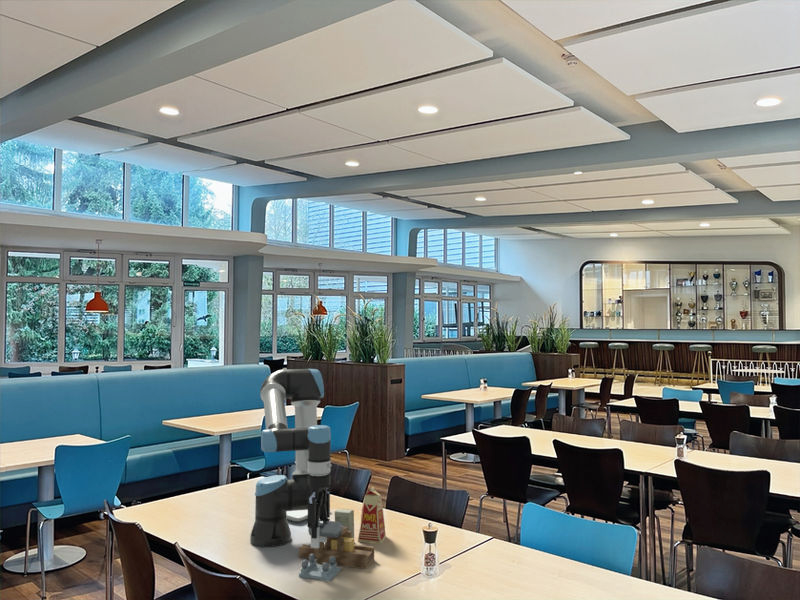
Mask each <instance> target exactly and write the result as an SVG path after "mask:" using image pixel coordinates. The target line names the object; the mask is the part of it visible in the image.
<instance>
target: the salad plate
mask: <svg viewBox="0 0 800 600" xmlns="http://www.w3.org/2000/svg"><path fill="white" fill-rule="evenodd" d="M286 517H287V519H288V520H287V521H291V520H292V522H296V521H297V522H302V520H303V521H306V520H308V510H297V511H287V515H286ZM297 522H296V523H297Z"/></svg>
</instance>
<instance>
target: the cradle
mask: <svg viewBox="0 0 800 600" xmlns="http://www.w3.org/2000/svg"><path fill="white" fill-rule="evenodd" d="M315 558H316V556H315V554H310V556H309V558H308V559H302V561H301V568H300V572H299V573H298V577H299V578H305V579H313V580H319V581H320V580H321V581H326V582H327V581H328V582H331V581H332V580H333V579H334V577H336V576H337V575H338V574H339V573H340V572H341V570H342V567H341V566H338V565H337V562H336V557H335V556H330V558H329V563H330V564H329V563H326V562H324V563H322V564H318V563H317V559H315Z"/></svg>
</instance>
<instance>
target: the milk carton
mask: <svg viewBox="0 0 800 600" xmlns="http://www.w3.org/2000/svg"><path fill="white" fill-rule="evenodd" d="M360 517H361V518H360V528H359V532H358V537H357V542H361V543H368V544H380V545H381V544H382V543H383V541H384V540H385V538H386V527H385V526H386V525H385V516H384V507H383V501H382V495H381V494H380V493H379V492H378V491H377V490H375V487H374V486H372V487H369V490H368V492H367V493H365V494H364V497H363V503H362V507H361V514H360Z"/></svg>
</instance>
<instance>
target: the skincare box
mask: <svg viewBox="0 0 800 600" xmlns="http://www.w3.org/2000/svg"><path fill="white" fill-rule="evenodd" d="M354 512H355V511H354V509H349V508H347V509H345V508H338V509H337V510H335V511H334V521H335V522H341V523H342V525H343V527H348V531H352V538H354V539H355V513H354Z"/></svg>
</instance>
